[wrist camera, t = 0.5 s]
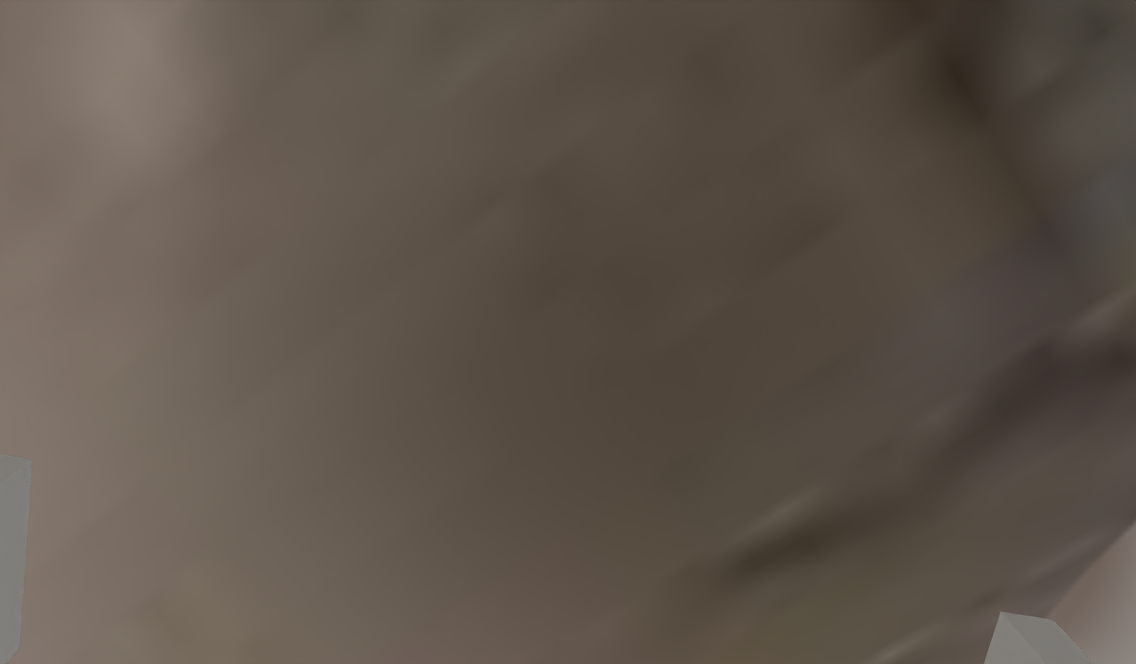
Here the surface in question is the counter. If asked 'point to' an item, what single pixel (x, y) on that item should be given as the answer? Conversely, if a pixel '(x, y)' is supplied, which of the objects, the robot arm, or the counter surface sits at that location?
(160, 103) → the counter surface
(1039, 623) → the robot arm
